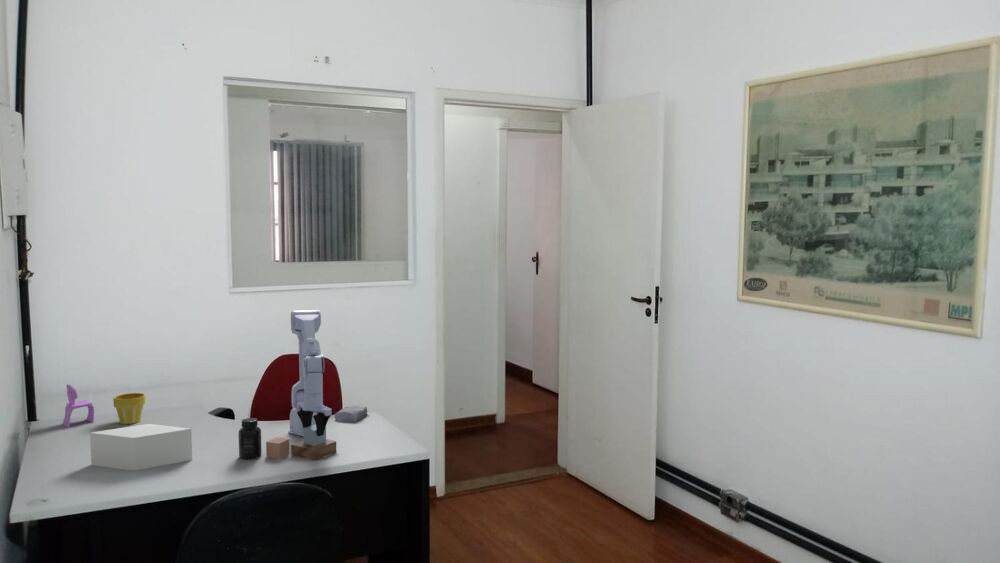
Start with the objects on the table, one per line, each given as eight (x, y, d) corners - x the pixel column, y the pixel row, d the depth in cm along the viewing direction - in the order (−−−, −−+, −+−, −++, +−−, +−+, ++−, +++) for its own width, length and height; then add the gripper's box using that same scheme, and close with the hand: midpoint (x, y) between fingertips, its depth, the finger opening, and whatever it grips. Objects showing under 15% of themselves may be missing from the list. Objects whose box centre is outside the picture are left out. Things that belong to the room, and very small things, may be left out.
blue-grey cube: (303, 443, 226) (303, 428, 225) (315, 439, 230) (315, 424, 229) (314, 446, 223) (314, 430, 222) (326, 442, 227) (326, 427, 227)
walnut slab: (291, 456, 224) (291, 444, 224) (313, 448, 233) (313, 436, 233) (314, 462, 220) (314, 449, 219) (336, 453, 228) (336, 441, 228)
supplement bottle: (266, 454, 225) (265, 418, 224) (252, 461, 218) (251, 423, 217) (248, 451, 227) (247, 415, 226) (234, 458, 220) (233, 421, 219)
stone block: (333, 425, 263) (357, 422, 261) (330, 413, 263) (355, 410, 261) (346, 418, 275) (369, 415, 273) (344, 406, 275) (367, 403, 272)
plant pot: (121, 418, 262) (120, 392, 261) (150, 417, 263) (149, 392, 262) (109, 426, 252) (108, 399, 251) (139, 425, 253) (138, 399, 252)
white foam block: (186, 468, 212) (185, 435, 211) (81, 473, 206) (80, 440, 205) (197, 452, 226) (196, 421, 225) (100, 457, 220) (98, 425, 219)
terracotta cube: (266, 457, 223) (266, 441, 222) (276, 452, 227) (276, 437, 227) (279, 459, 221) (279, 443, 221) (289, 454, 226) (289, 439, 225)
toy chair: (96, 422, 256) (94, 382, 254) (69, 428, 249) (67, 387, 248) (87, 418, 261) (86, 379, 260) (61, 423, 254) (59, 383, 253)
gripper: (288, 391, 225) (289, 432, 226) (319, 398, 217) (319, 441, 218) (306, 387, 231) (306, 427, 232) (336, 394, 223) (336, 435, 224)
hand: (314, 433), depth 226 cm, fingers open, 6 cm apart
